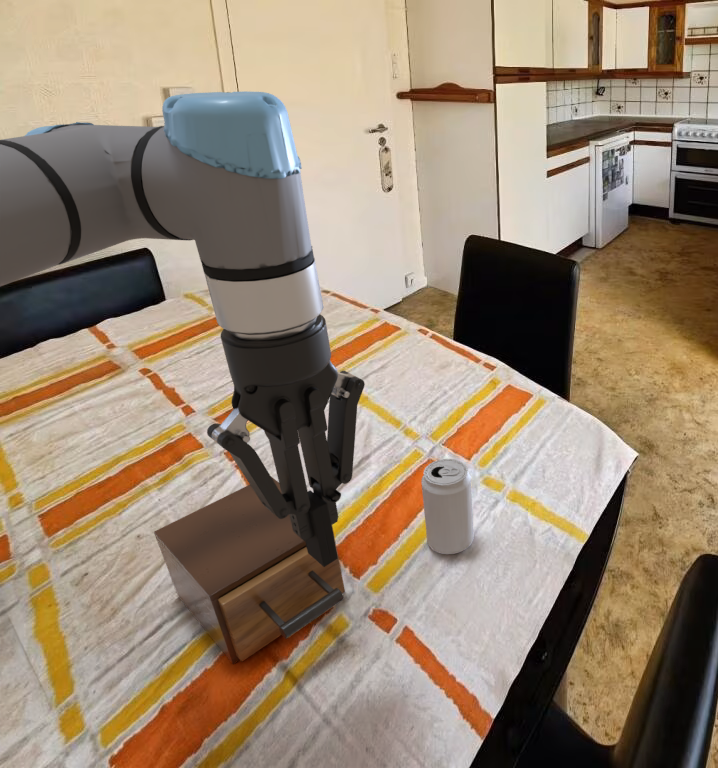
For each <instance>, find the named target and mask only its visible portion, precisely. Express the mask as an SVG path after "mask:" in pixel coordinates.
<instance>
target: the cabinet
mask: <svg viewBox="0 0 718 768" xmlns="http://www.w3.org/2000/svg"><path fill="white" fill-rule="evenodd" d="M271 478H272V479H273V481H274V482H275V484H276V486H277V487H278V489H279V491H280V492H281V489H280V484H279V480H276V479H275V478H274V477H273V476H271ZM281 494H282V493H281ZM332 530H333V535H334V538H335V533H334V528H333V526H332ZM153 535H154V536H155V539H156V542H157V544H158V548H159V550H160V552H161V556H162V557H163V560H164V563H165V566H166V568H167V570H168V571H167V572H168V573H169V576H170V578H171V581H172V585H173V587H174V589H175V592H176V595H177V597H178V598H179V600H180V601H181V602H182V603H183V605H184V606H185V607H186V608H187V610H188V611H189V612H190V613H191V615H192V616H193V617H194V619H196V621H197V622H198V623H199V624H200V626H201V627H202V628H203V629H204V630H205V632H206V633H207V634H208V636H209V637H210V638H211V639H212V640H213V642H214V643H215V645H216V646H217V647H218V648H219V649H220V650H221V652H222V653H223V654H224V655H225V656H226V658H227V657H228V658H227V660H229V662H230V663H231V662H232V663H231V664H232V665H235V664H236V663H237V662H236V661H238V660H239V661H241V660H240V659H239V658H238V657H237V655H236V652H235V649H234V646H233V643H232V640H231V637H230V634H229V631H228V628H227V625H226V622H225V620H224V617H223V614H222V611H221V608H220V605H219V602H218V599H219V597H220V596H222V595H223V594H225V593H227V592H228V591H230V590H232V589H233V588H235V587H237V586H239V585H240V584H242V583H244V582H245V581H247V580H249V579H250V578H252V577H254V576H255V575H257V574H259V573H260V572H262V571H264V570H265V569H267V568H269V567H270V566H272V565H274V564H275V563H277V562H279V561H281V560H282V559H284V558H286V557H287V556H289V555H291V554H292V553H294V552H296V551H297V550H299V549H301V548H302V547H304V546H306V542H305V541H304V540H302V539H301V538H300V537H299V536H298V535H297V534H295V532H294V531H293V529H292V524H291V520H290V516H289V515H288V516H287V517H285V518H283V519H279V518H278V517H277V516H276V515H274V514H273V513H272V512H271V511H270V510H268V509H267V508H266V507H265V506H264V505H263V504H262V503H261V501H260V499H259V498H258V496H257V495H256V493H255V492H254V490H253V489H252V487H251V485H250V484H248V485H245V486H244V487H242V488H240V489H238V490H235V491H234V492H231V493H230V494H227V495H226V496H223V497H222V498H220V499H217V500H216V501H213V502H212V503H210V504H207V505H205V506H203V507H201V508H199V509H197V510H195V511H193V512H191V513H189V514H186V515H185V516H183V517H181V518H179V519H177V520H175V521H173V522H171V523H168V524H166V525H165V526H163V527H160V528H158V529H157V530H154V531H153ZM335 539H336V538H335ZM335 543H336V544H337V542H336V541H335ZM337 547H338V546H336V548H337ZM337 549H338V548H337ZM342 579H343V580H344V578H343V577H342ZM343 584H344V585H345V583H344V582H343ZM344 589H345V590H346V588H345V587H344ZM239 661H238V662H239ZM235 662H236V663H235ZM234 663H235V664H234Z"/></svg>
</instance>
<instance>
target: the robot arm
mask: <svg viewBox="0 0 718 768" xmlns="http://www.w3.org/2000/svg"><path fill="white" fill-rule="evenodd" d="M161 109H162V110H161V111H162V116H163V121H164V123H163V125H160V126H146V125H145V126H144V125H143V126H142V125H141V126H140V125H113V124H112V125H111V124H110V125H109V124H108V125H107V124H94V123H92V122H80V121H76V122H72V123H63V124H55V125H45V126H39V127H36V128H33V129H32V130H29V131H28V132H26V134H25V135H23V136H16V137H15V136H14V137H9V138H2V139H0V287H3V286H5V285H8V284H11V283H13V282H16V281H19V280H22V279H24V278H26V277H27V278H28V277H30V276H32V275H35V274H37V273H40V272H41V273H42V272H43V271H45V270H48V269H49V270H50V269H51V268H54V267H56V266H60V265H64V264H66V263H69V262H71V261H74V260H77V259H80V258H84V257H86V256H88V255H91V254H94V253H97V252H100V251H102V250H105V249H108V248H111V247H113V246H117V245H119V244H122V243H125V242H128V241H132V240H139V239H150V240H168V241H169V240H170V241H171V240H173V241H194V242H195V246H196V249H197V252H198V257H199V260H200V262H201V267H202V270H203V271H202V272H203V274H204V278H205V281H206V285H207V289H208V292H209V296H210V300H211V303H212V309H213V312H214V316H215V320H216V323H217V325H218V326H219V327H220V328H221V329H222V330H221V332H220V341H221V344H222V349H223V351H224V355H225V359H226V363H227V367H228V371H229V374H230V375H229V376H230V378H231V381H232V383H233V393H232V397H231V407H232V410H231V412H230V413H229V414H228V416H226V417H225V419H224V420H223V421H222V422H221V423H218V422H215V423H212V424H210V425H209V426H208V428H207V429H206V434H207V436H208V437H209V438H210V439H211V440H213V441H214V442H215V443H216V444H217V445H218V446H220V447H221V448H223V449H224V450H225V451H227V452H228V453H229V454H230V456H231V457H232V459H233V461H234V462H235V464H236V465H237V468H238V469H239V470H240V472H241V473H242V475H243V476H244V478H245V480H246V481H247V482H248V485H251V487H252V489H253V490H254V492H255V493H256V495H257V496H258V498H259V499H260V501H261V503H262V504H263V505H264V506H265V507H266V508H267V509H268V510H270V511H271V512H272V513H273V514H274V515H276V516H277V517H278V518H279V519H283V518H285V517H287V516H288V515H289V516H290V520H291V524H292V529H293V531H294V532H295V534H297V535H298V536H299V537H300V538H301V539H302V540H304V541H305V542H306V547H307V551H308V554H310V555H311V556H312V557H313V558H314V559H315V560H316V561H318V562H319V563H320V564H321V565H322V566H323V567H325V566H327V565H329V564H330V563H332V562H333V561H335V560H336V559H338V558H339V554H338V555H337V553H338V549H337V550H336V547H337V544H336V545H335V542H336V539H335V540H334V537H335V534H334V535H333V532H334V529H333V530H332V527H333V525H334V524H336V523H338V521H339V511H338V507H337V502H339V501H340V499H341V498H342V492H340V491H339V490H337V489H338V488H339V487H340V486H341V485H347V484H348V483H350V482H351V480H352V479H353V471H354V470H353V469H354V456H355V445H356V430H357V414H358V404H359V402H360V399H361V397H362V394H363V391H364V389H365V385H366V383H365V381H364V379H363V378H362V379H361V378H360V377H358V376H356V375H354V374H352V373H350V372H348V371H347V370H340V372H339V371H338V369H337V368H336V366H335V365H334V364H333V363H332V360H331V359H332V349H331V344H330V339H329V333H328V328H327V322H326V321H327V320H326V318H325V317H324V316H323V315H322V312H323V310H324V309H325V308H324V301H323V296H322V290H321V285H320V281H319V274H318V270H317V264H316V263H317V262H316V259H315V256H314V251H313V245H312V240H311V234H310V228H309V221H308V216H307V215H308V214H307V208H306V202H305V195H304V189H303V184H302V183H303V181H302V174H301V173H302V171H301V170H302V168H303V167H302V162H301V159H300V156H299V155H298V151H297V147H296V143H295V139H294V135H293V130H292V126H291V122H290V117H289V113H288V110H287V107H286V105H285V104H284V103H283V101H282V100H281V99H280V98H279V97H278V96H276V95H274V94H273V93H270V92H264V91H248V90H247V91H232V92H231V91H227V92H225V91H213V92H211V91H210V92H209V91H208V92H194V93H193V92H192V93H191V92H190V93H181V94H176V95H175V94H174V95H171V96H168V97H167V98H165V99H164V101H163V102H162V108H161ZM328 402H329V404H328ZM327 405H328V417H327V418H328V419H327V418H326V415H325V414H326V413H325V410H326V408H327ZM248 422H250V423H251V424H252V425H255V426H256V427H258V428H260V429H261V430H263V431H264V435H265V436H266V438H267V439H268V441H269V446H270V450H271V454H272V459H273V463H274V467H275V471H276V476H277V481H278V482H279V484H280V489H281V492H280V491H279V489H278V487H277V486H276V484H275V482H274V481H273V479H272V478H271V477H272V476H271V474H270V472H269V471H268V469H267V467H266V465H265V464H264V462H263V461H262V459H261V457H260V456H259V454H258V453H257V451H256V450H255V448H254V447H252V446H251V445H250V444H249V442H250V441H251V437H250V436H251V435H250V431H249V430H248V428H247V423H248ZM326 433H327V434H326ZM299 445H300V448H301V453H302V457H303V462H304V466H305V471H306V475H307V480H308V484H309V487H310V488H311V489H312V490H311V489H310V490H308V487H307V481H306V477H305V472H304V467H303V463H302V458H301V454H300V449H299ZM281 493H282V494H281Z"/></svg>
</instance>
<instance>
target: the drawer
mask: <svg viewBox="0 0 718 768" xmlns="http://www.w3.org/2000/svg"><path fill="white" fill-rule="evenodd" d="M334 540H335V541H336V538H334ZM335 545H336V546H337V542H336V543H335ZM336 550H337V551H338V548H336ZM337 555H338V556H339V553H338V552H337ZM342 578H343V573H342V568H341V563H340V557H338V559H336V560H335V561H333V562H332V563H330V564H329V565H327V566H325V567H323V566H322V565H321V564H320V563H319V562H318V561H316V560H315V559H314V558H313V557H312V556H311V555H310V554H308V551H307V547H306V546H304V547H302V548H301V549H299V550H297V551H296V552H294V553H292V554H291V555H289V556H287V557H286V558H284V560H283V561H281V562H280V563H278V564H276V565H275V566H273V567H271V568H269V569H268V570H266V571H264V572H263V573H261V574H259V575H258V576H256V577H254V578H253V579H251V580H249V581H248V582H246V583H244V584H243V585H241V586H239V587H238V586H237V587H235V588H233V589H232V590H230V591H228V592H227V593H225V594H223V595H222V596H220V597H219V599H218V602H219V605H220V608H221V611H222V614H223V617H224V620H225V622H226V625H227V628H228V631H229V634H230V637H231V640H232V643H233V646H234V649H235V652H236V655H237V657H238V658H239V659H240V660H239V661H240V662H244V661H245V660H246V659H248V658H250V657H251V656H252V655H254V654H256V653H257V652H259V651H260V650H261V649H263V648H264V647H266V646H267V645H268V644H270V643H272V642H274V640H276V639H277V638H279V637H280V636H282V637H283V639H285V640H287V639H289V638H290V637H291V636H293V635H295V634H296V633H297V632H299V631H300V630H301V629H303V628H305V627H306V626H307V625H309V624H311V623H312V622H313V621H314V620H316V619H318V618H319V617H320V616H322V615H324V613H326V612H328V611H329V610H330V609H332V608H333V607H336V606H337V605H338V604H339V603H341V602H342V601H344V594H343V593H345V592H346V588H345V583H344V578H343V579H342ZM343 583H344V584H343ZM344 588H345V589H344Z"/></svg>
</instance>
